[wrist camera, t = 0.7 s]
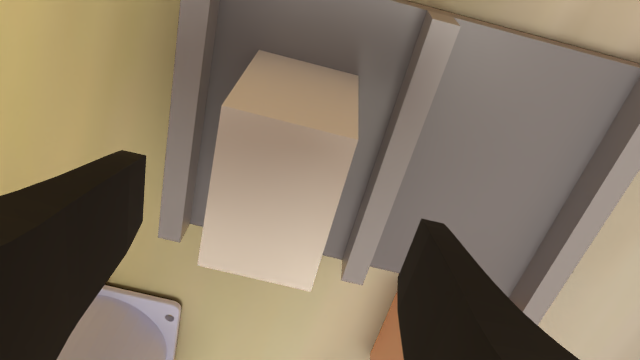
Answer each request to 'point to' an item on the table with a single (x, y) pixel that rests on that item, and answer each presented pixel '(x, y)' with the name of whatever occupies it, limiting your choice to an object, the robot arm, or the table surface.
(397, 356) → the terracotta plug
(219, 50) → the slot rack
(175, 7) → the table surface
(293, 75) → the white plug
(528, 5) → the table surface
